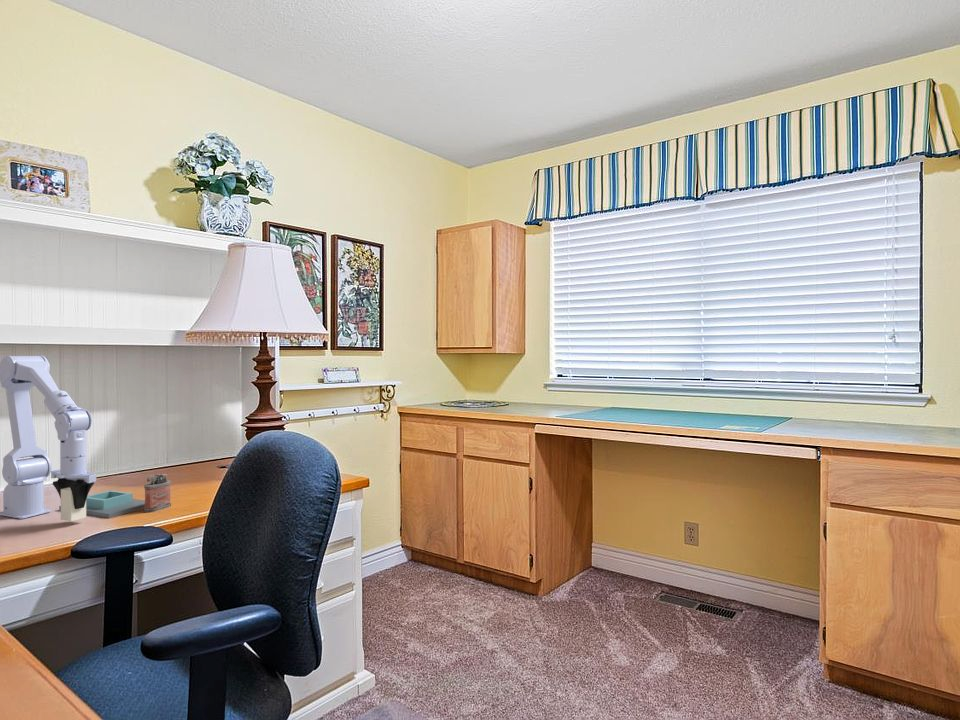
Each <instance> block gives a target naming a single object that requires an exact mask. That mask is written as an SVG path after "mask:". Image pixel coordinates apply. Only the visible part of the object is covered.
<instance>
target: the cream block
mask: <svg viewBox="0 0 960 720" xmlns="http://www.w3.org/2000/svg"><path fill="white" fill-rule="evenodd" d="M60 506H61V511H60V520H62V521H68V522H74V521H77V520H81V519H85V518H87V515H86V502H85V506H84V508H80V509H75V507H74V502H73V495H72V491H71V489H70V487H69V488H64V489H61V499H60Z"/></svg>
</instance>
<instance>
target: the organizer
mask: <svg viewBox="0 0 960 720" xmlns="http://www.w3.org/2000/svg"><path fill="white" fill-rule="evenodd" d="M133 494H134V493H133V492H125V491H118V490H107V491H102V492H98V493H94V494H88V496H87V499H86V516H91V517H92V516H93V517H98V518H99V517H100V518H105V519H106V518H107V519H112V518H114V517H115V518H116V517H119V516H122V515H125V514H129V513H133V512H136V511H140V510H144V508H145V499H137V498H133ZM58 510H59V511H60V512H61V505H59V508H58Z"/></svg>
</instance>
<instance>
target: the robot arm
mask: <svg viewBox="0 0 960 720" xmlns="http://www.w3.org/2000/svg"><path fill="white" fill-rule="evenodd" d="M50 366H51V365H50V362H49V360H48V359H47V357H46V356H44V355H17V356H16V355H4V356H3V357H2V359H1V360H0V386H1V387H2V388H4V389H5V394H6V395H5V397H6V401H7V408H8V416H9V417H8V418H9V424H10V429H11V430H10V432H11V438H12V446H13V449H12V450H10V451H9V452H8V453H7V454H5V455H4V456H3V458H2V468H1V469H2V470H1V473H2V474H1V475H2V478H3V479H4V480H3V481H5V482H6V483H7V485H6V486H5V487H4V489H3V493H2V494H3V496H2V501H3V503H2V507H3V508H2V509H3V511H2V512H0V516H4V517H9V518H14V519H20V520H23V519H26V518H31V517H35V516H39V515H43V514H46V513H51V512H52V510H51V509H49V508H48V509H47V508H44V507H45V506H44V504H45V503H44V502H45V501H44V490H45V489H44V488H45V487H44V481H47V478H48V477H49V476H50V478H51V479H57V480H54V481H52V485H53V486H54V488H55V490H56V491H57V493H58V496H59V498H60V500H61V489H64V488H69V487H70V489H71V491H72V495H73V502H74V507H75V509H80V508H84V506H85V502H86V499H87V496H89V493H90V491H91V489H92V487H93V486H94V484H95V482H97V474H95V473H92V472H90V471H88V470H87V431H88V430H90V428H91V426H92V416H91V413H90V411H89V410H87V409H86V408H82V407H79V406H78V405H77V404H76V403H75V402H74V400H73V399H72V397H71V396H70V395H69V393H68V392H67V391H65V390H60V389H59V388H58V385H57V384H56V382H55V380H54V378H53V377H52V375H51V374H50V370H51V369H50V368H51V367H50ZM33 387H35V388H36V389H37V390H38V391H39V392H40V393H41V394H42V395H43V397H44V400H43V404H44V405H45V407H46V408H47V410H48V411H49V413H50V414H51V416H53V418H54V419H55V420H54V429H55V431H56V432H57V433H56V434H57V438H58V440H59V450H60V451H59V466H60V467H59V469H56V470H55V469H54V470H52V469H53V467H52V462H51V459H50V458H49V456H48V455H49V454H48V452H47V450H45V449H44V448H42V447H41V446H39V445H37V438H36V432H35V431H36V430H35V425H34V424H35V423H34V418H33V417H34V416H33V411H32V402H31V396H30V390H31V389H32V388H33ZM21 458H22V459H21Z"/></svg>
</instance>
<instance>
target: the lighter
mask: <svg viewBox="0 0 960 720" xmlns="http://www.w3.org/2000/svg"><path fill="white" fill-rule="evenodd" d="M167 478H168V474H167V473H164V474H162V473H156V474H155V475H151V476H148V477H147V478H146V482H148V484H144V486H143V489H144V500H145V508H144V509H143V512H144V513H154V512H158V511H161V510H165V508H166V509H168V508H171V507H172V503H171V485H172V480H169V479H168V480H167ZM170 506H171V507H170Z"/></svg>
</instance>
